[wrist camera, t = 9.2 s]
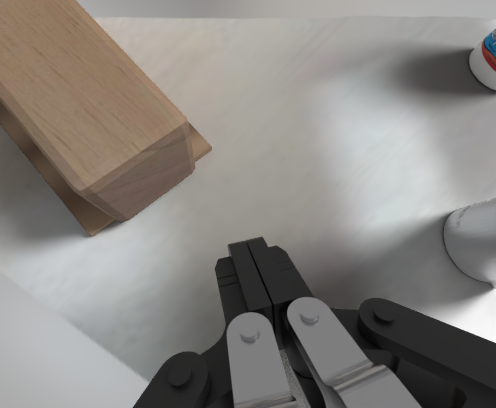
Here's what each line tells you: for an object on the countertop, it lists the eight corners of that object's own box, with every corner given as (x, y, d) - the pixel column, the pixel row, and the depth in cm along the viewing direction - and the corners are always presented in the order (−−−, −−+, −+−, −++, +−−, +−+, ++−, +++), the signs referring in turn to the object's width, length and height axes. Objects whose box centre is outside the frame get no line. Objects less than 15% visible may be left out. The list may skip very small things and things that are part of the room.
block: (75, 197, 17) (-77, 9, 20) (123, 228, 27) (16, 98, 30) (193, 118, 20) (47, -36, 23) (199, 171, 30) (95, 57, 32)
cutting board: (211, 149, 32) (211, 146, 31) (93, 236, 27) (89, 235, 26) (102, 34, 35) (100, 29, 34) (-21, 94, 30) (-28, 89, 29)
